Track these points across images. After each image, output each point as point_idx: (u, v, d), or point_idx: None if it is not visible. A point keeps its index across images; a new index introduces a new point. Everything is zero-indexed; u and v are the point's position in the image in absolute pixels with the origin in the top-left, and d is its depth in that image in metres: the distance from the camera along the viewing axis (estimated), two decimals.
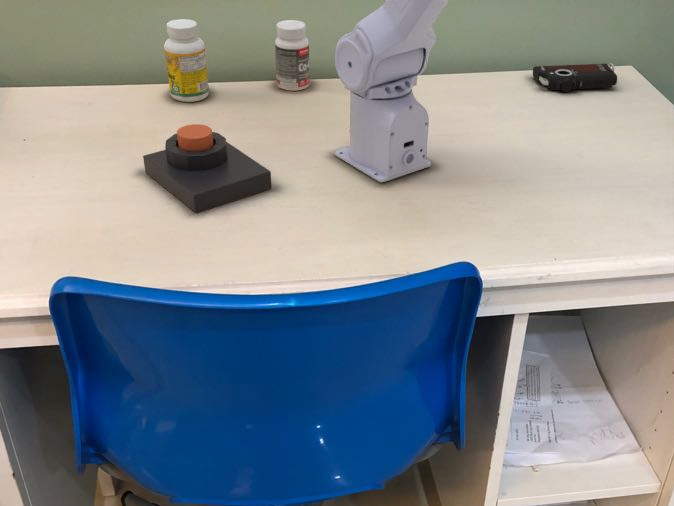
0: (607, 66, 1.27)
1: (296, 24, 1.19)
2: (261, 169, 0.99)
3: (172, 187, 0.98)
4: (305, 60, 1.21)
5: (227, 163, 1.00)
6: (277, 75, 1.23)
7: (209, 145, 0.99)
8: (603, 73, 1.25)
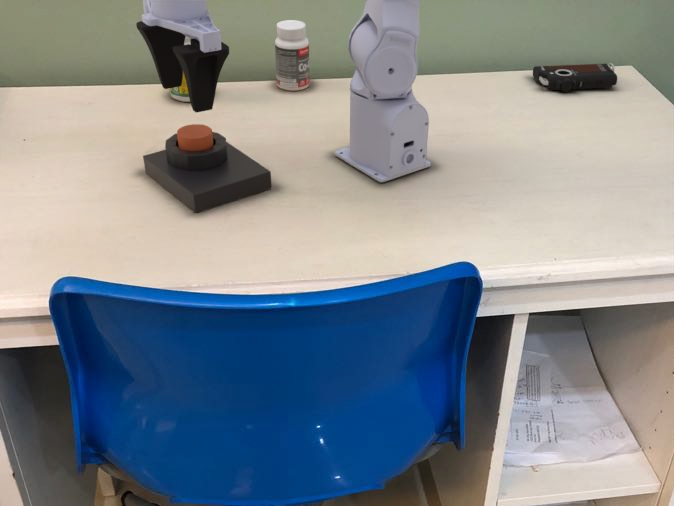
0: (607, 66, 1.27)
1: (296, 24, 1.19)
2: (261, 169, 0.99)
3: (172, 187, 0.98)
4: (305, 60, 1.21)
5: (227, 163, 1.00)
6: (277, 75, 1.23)
7: (209, 145, 0.99)
8: (603, 73, 1.25)
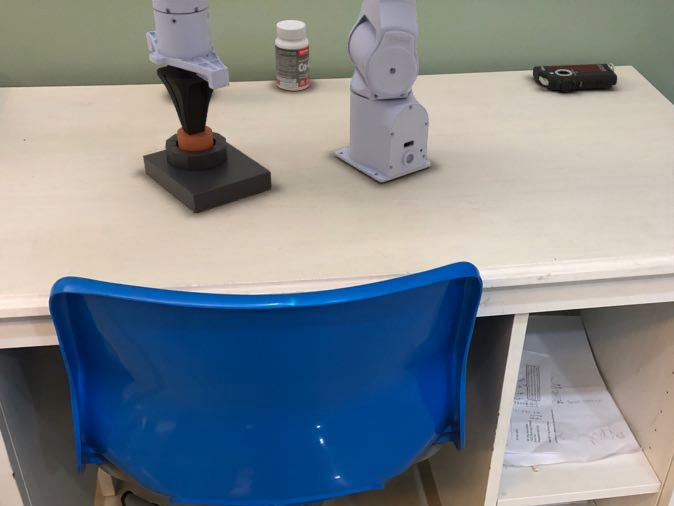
0: (607, 66, 1.27)
1: (296, 24, 1.19)
2: (261, 169, 0.99)
3: (172, 187, 0.98)
4: (305, 60, 1.21)
5: (227, 163, 1.00)
6: (277, 75, 1.23)
7: (209, 145, 0.99)
8: (603, 73, 1.25)
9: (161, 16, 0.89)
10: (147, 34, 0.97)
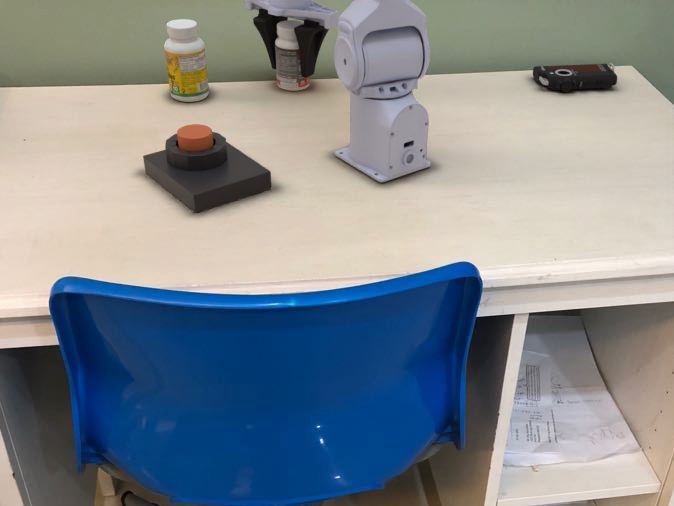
0: (607, 66, 1.27)
1: (297, 24, 1.19)
2: (261, 169, 0.99)
3: (172, 187, 0.98)
4: None
5: (227, 163, 1.00)
6: (277, 75, 1.23)
7: (209, 145, 0.99)
8: (603, 73, 1.25)
9: None
10: None
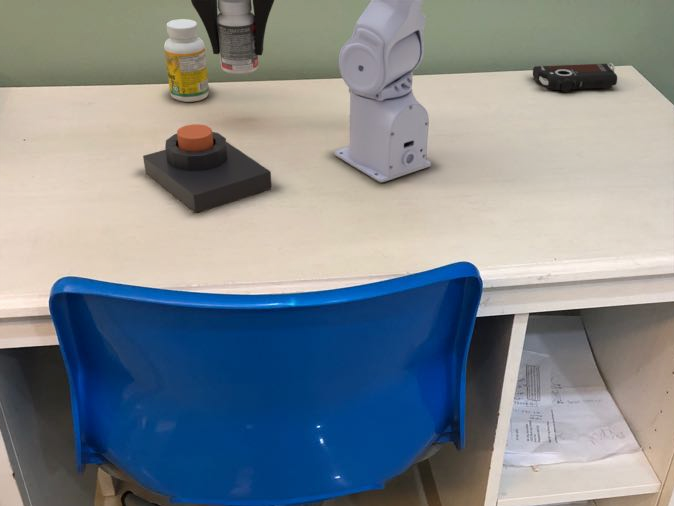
0: (607, 66, 1.27)
1: None
2: (261, 169, 0.99)
3: (172, 187, 0.98)
4: None
5: (227, 163, 1.00)
6: (226, 59, 1.07)
7: (209, 145, 0.99)
8: (603, 73, 1.25)
9: None
10: None
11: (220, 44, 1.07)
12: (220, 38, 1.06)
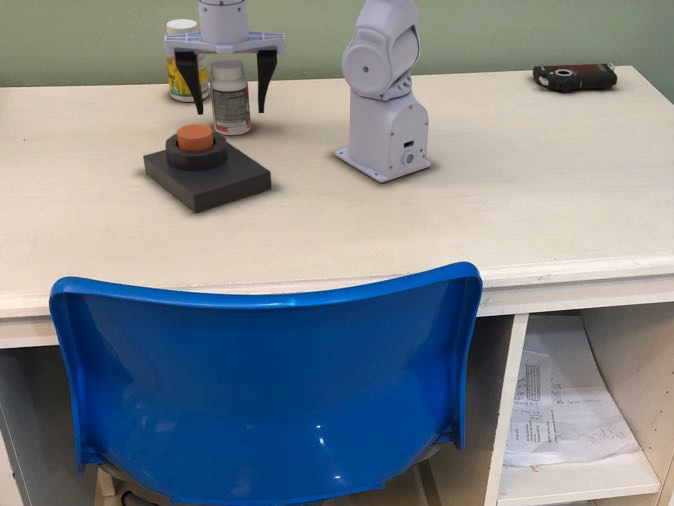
0: (607, 66, 1.27)
1: (232, 62, 1.08)
2: (261, 169, 0.99)
3: (172, 187, 0.98)
4: (248, 98, 1.10)
5: (227, 163, 1.00)
6: (222, 122, 1.10)
7: (209, 145, 0.99)
8: (603, 73, 1.25)
9: (229, 8, 1.00)
10: (167, 41, 1.04)
11: (214, 108, 1.09)
12: (214, 102, 1.09)
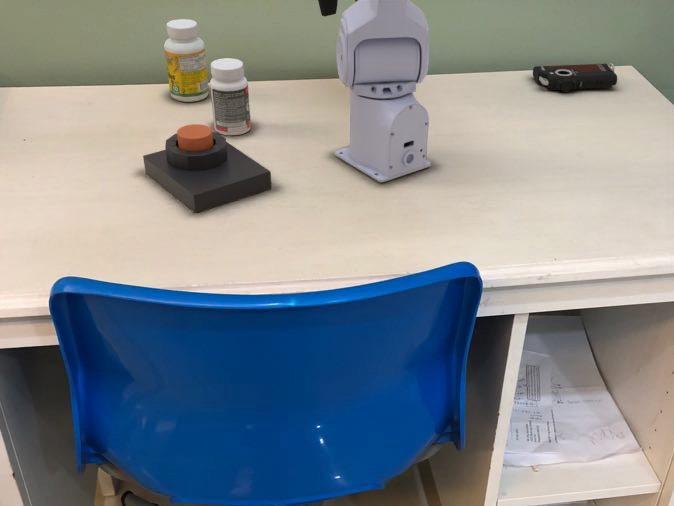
0: (607, 66, 1.27)
1: (232, 62, 1.08)
2: (261, 169, 0.99)
3: (172, 187, 0.98)
4: (248, 98, 1.10)
5: (227, 163, 1.00)
6: (222, 122, 1.10)
7: (209, 145, 0.99)
8: (603, 74, 1.25)
9: None
10: None
11: (214, 108, 1.09)
12: (214, 102, 1.09)
